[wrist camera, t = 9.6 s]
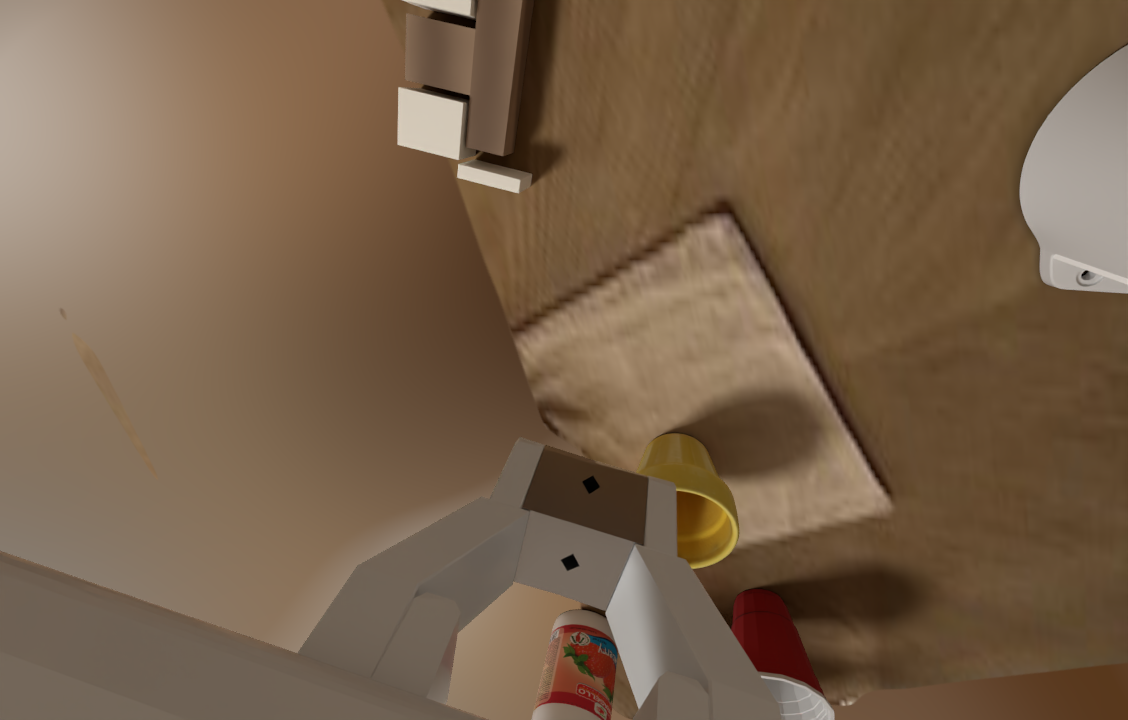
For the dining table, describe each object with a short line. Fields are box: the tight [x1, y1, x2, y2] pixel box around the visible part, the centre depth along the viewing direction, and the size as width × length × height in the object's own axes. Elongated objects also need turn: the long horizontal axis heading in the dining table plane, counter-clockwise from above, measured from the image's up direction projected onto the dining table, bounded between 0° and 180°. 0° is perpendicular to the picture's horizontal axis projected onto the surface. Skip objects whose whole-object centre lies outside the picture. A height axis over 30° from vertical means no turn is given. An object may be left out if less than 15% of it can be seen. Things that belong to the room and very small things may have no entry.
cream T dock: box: [398, 0, 532, 193], centre depth 34 cm, size 10×16×4 cm, turn 169°
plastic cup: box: [731, 589, 834, 720], centre depth 52 cm, size 11×11×12 cm
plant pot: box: [636, 433, 739, 569], centre depth 45 cm, size 10×10×10 cm
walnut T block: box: [405, 0, 534, 156], centre depth 34 cm, size 8×11×3 cm
